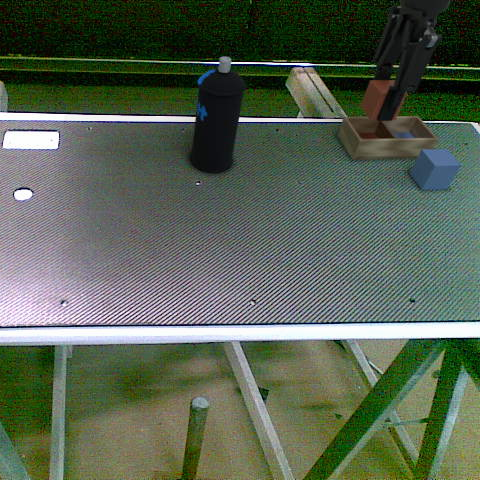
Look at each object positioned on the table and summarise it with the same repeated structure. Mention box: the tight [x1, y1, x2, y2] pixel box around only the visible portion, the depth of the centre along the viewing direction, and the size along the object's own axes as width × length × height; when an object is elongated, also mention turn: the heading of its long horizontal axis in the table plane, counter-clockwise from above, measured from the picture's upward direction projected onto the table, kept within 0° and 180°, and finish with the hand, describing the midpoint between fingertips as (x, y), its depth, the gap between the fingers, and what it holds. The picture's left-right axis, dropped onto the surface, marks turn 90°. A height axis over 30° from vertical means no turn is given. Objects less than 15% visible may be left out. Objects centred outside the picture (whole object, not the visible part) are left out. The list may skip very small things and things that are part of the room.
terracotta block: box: [360, 79, 408, 120], centre depth 89 cm, size 5×5×6 cm
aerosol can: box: [189, 55, 247, 174], centre depth 84 cm, size 8×8×20 cm
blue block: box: [409, 148, 462, 191], centre depth 87 cm, size 5×5×6 cm
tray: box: [336, 115, 440, 161], centre depth 95 cm, size 16×9×4 cm, turn 95°
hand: (377, 111), depth 91 cm, fingers closed on terracotta block, 5 cm apart
